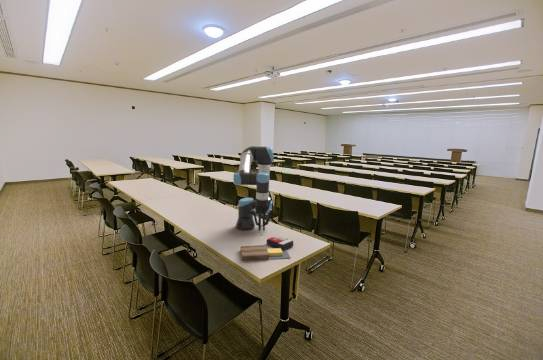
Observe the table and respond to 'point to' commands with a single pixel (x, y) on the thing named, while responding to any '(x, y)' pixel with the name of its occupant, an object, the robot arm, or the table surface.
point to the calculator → (280, 242)
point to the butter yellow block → (275, 252)
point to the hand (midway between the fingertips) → (261, 235)
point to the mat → (284, 256)
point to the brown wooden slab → (254, 253)
